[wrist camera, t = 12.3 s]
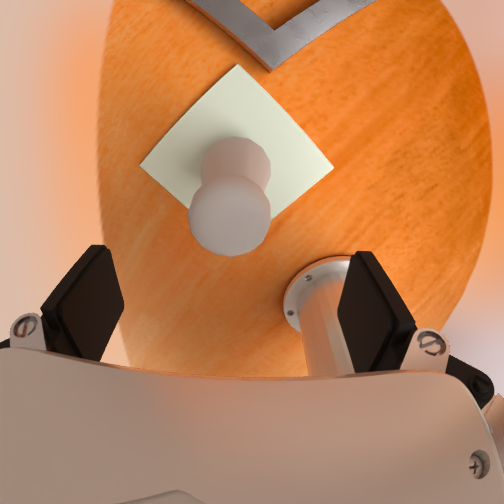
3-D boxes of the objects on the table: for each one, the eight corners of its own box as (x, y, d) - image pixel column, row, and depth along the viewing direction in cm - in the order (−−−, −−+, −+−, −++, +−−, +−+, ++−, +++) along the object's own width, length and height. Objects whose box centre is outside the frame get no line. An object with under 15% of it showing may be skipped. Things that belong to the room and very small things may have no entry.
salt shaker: (254, 202, 27) (259, 289, 16) (196, 182, 25) (158, 256, 14) (278, 146, 24) (308, 195, 13) (218, 123, 23) (189, 151, 12)
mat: (331, 165, 26) (334, 168, 25) (235, 246, 30) (235, 250, 29) (238, 64, 21) (237, 63, 20) (142, 163, 25) (139, 165, 24)
